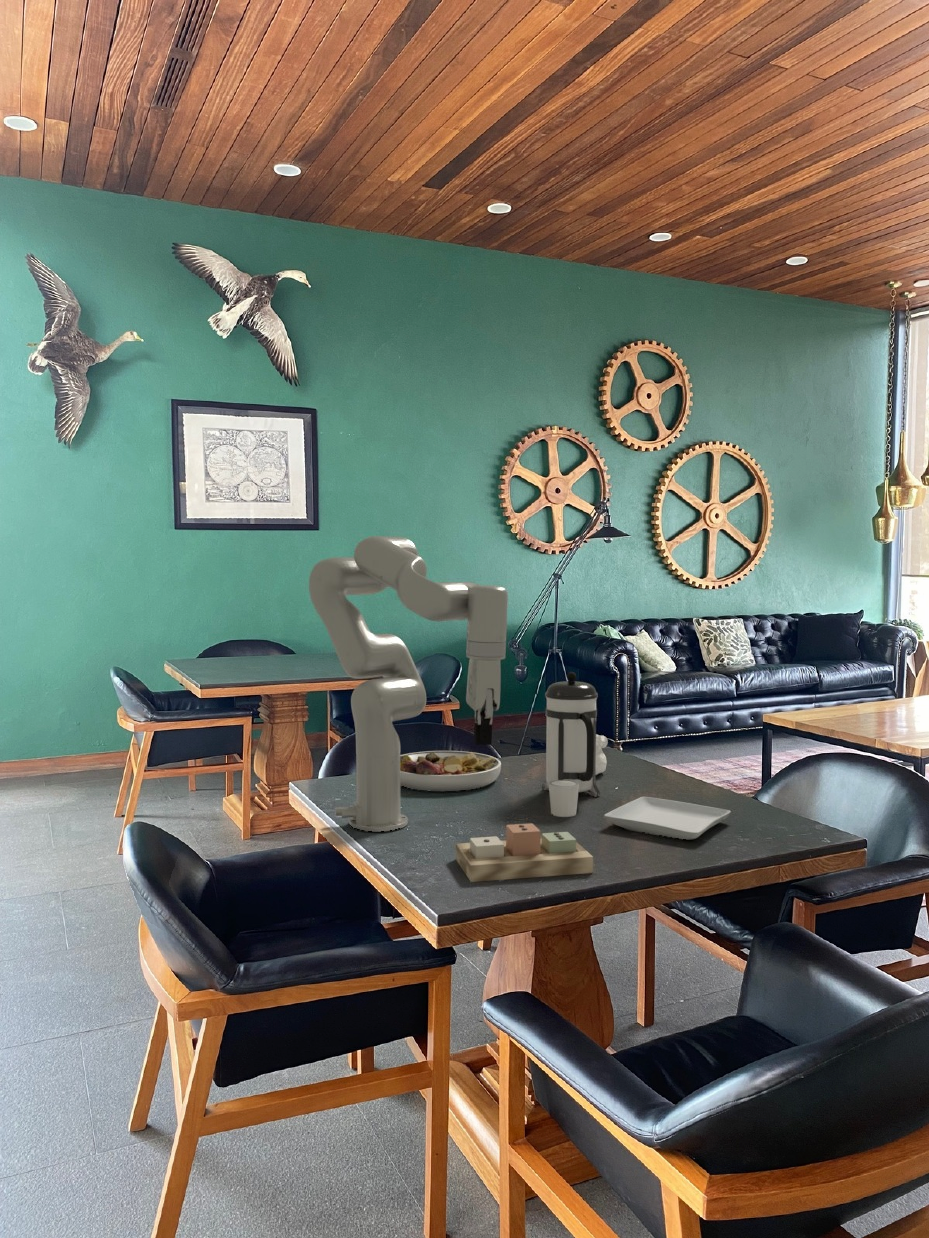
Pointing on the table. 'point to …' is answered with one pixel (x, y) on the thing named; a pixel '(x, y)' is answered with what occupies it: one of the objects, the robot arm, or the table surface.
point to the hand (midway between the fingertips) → (482, 743)
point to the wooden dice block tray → (523, 864)
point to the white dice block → (486, 847)
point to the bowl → (447, 770)
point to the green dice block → (558, 842)
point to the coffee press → (571, 733)
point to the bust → (600, 754)
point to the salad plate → (666, 817)
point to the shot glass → (563, 797)
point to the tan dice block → (523, 839)
